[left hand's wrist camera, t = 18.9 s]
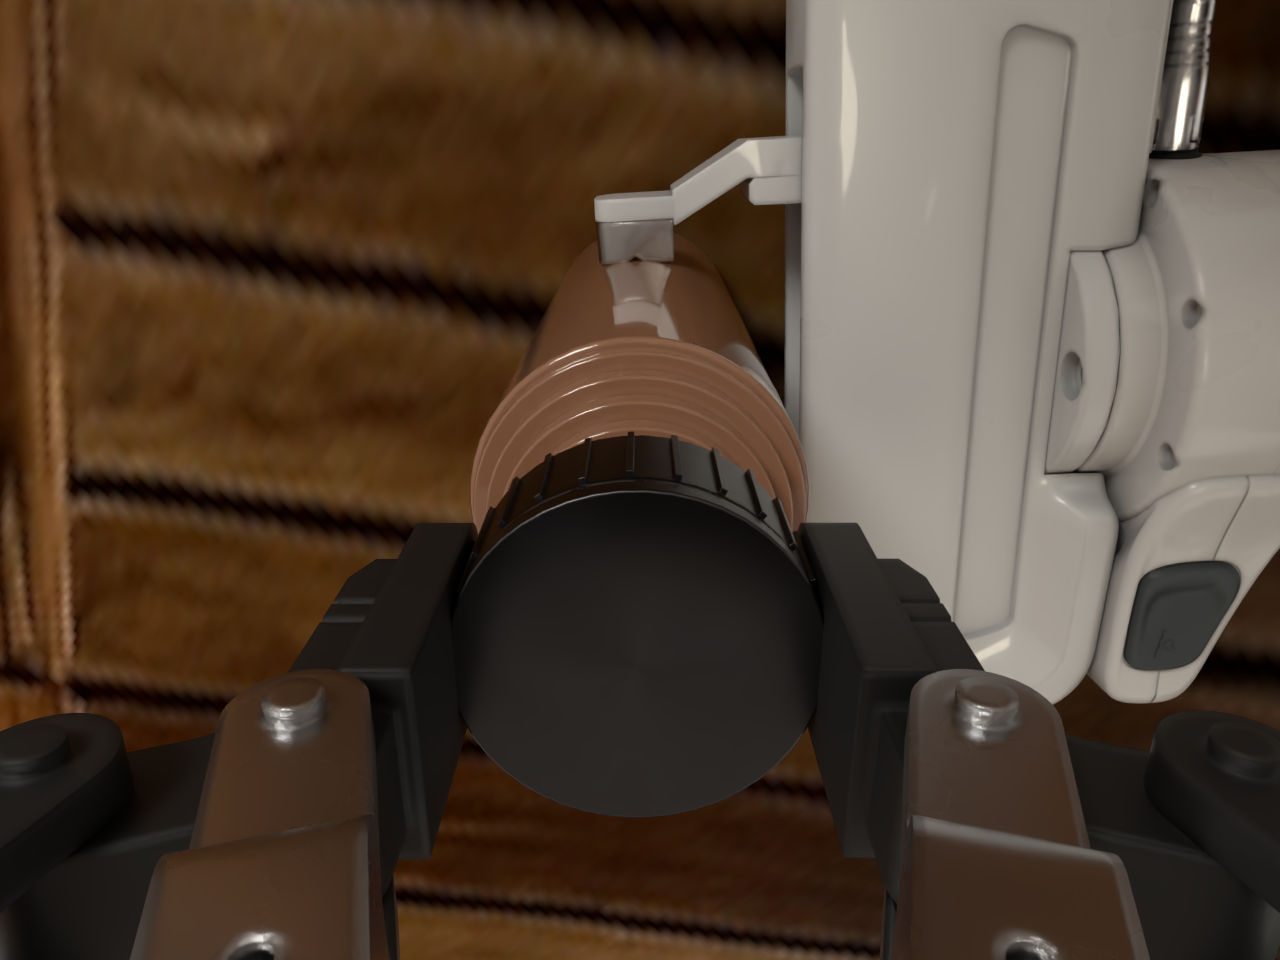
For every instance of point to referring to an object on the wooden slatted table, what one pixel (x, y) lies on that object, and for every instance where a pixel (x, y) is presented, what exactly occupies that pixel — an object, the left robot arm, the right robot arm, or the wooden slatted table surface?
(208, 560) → the wooden slatted table surface
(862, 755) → the left robot arm
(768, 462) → the bottle
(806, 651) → the cap
